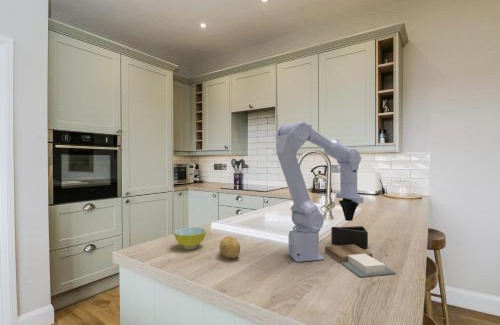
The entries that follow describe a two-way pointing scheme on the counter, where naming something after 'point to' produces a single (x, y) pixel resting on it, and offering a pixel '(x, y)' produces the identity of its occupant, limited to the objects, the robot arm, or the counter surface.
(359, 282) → the counter surface
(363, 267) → the cream rectangular tile
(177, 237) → the bowl
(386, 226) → the counter surface
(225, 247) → the potato
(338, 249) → the brown block
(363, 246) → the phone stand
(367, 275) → the mat
